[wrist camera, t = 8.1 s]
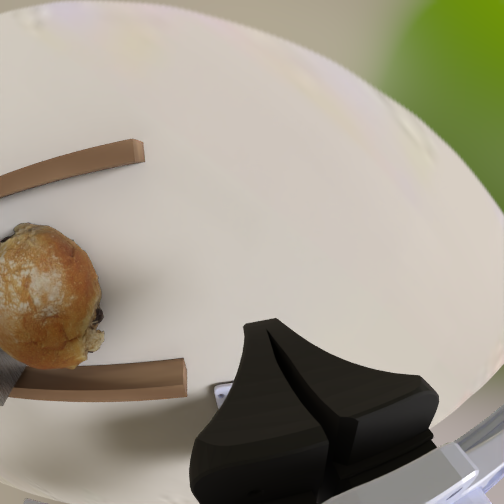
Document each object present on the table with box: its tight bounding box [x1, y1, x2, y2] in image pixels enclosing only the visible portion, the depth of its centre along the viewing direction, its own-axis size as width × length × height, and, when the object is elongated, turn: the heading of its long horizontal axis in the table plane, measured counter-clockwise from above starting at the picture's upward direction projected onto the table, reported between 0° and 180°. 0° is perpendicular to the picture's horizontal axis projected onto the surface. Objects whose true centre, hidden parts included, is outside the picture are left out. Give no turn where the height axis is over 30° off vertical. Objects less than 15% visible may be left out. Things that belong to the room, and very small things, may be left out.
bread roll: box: [0, 223, 104, 370], centre depth 15 cm, size 10×10×8 cm
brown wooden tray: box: [0, 139, 187, 402], centre depth 14 cm, size 16×19×6 cm
